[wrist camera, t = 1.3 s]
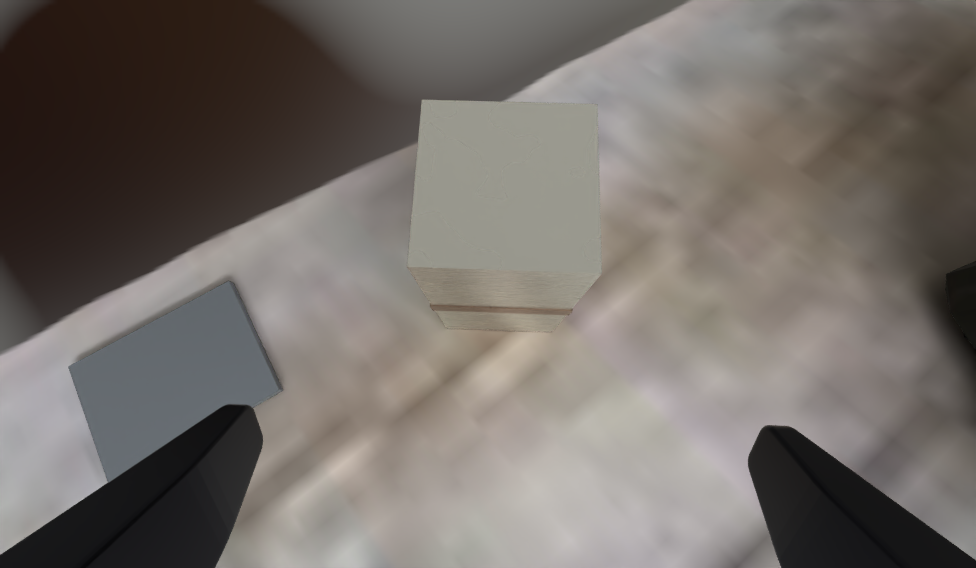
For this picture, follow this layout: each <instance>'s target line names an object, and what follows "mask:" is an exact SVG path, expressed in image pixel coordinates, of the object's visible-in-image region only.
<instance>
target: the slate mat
mask: <svg viewBox="0 0 976 568" xmlns="http://www.w3.org/2000/svg"><path fill="white" fill-rule="evenodd" d="M68 368H69V371H70V373H71V376H72V379H73V382H74V385H75V388H76V391H77V394H78V397H79V400H80V402H81V405H82V408H83V411H84V414H85V417H86V420H87V423H88V426H89V429H90V431H91V434H92V437H93V440H94V443H95V446H96V449H97V452H98V455H99V458H100V461H101V463H102V466H103V469H104V472H105V475H106V478H107V481H108V482H110V481H111V480H113V479H114V478H116V477H117V476H119V475H120V474H122V473H123V472H125V471H126V470H128V469H129V468H131V467H132V466H134V465H135V464H137V463H138V462H140V461H141V460H143V459H144V458H146V457H147V456H149V455H150V454H152V453H153V452H155V451H156V450H158V449H159V448H161V447H162V446H164V445H165V444H167V443H168V442H170V441H171V440H173V439H174V438H176V437H177V436H179V435H180V434H182V433H183V432H185V431H186V430H188V429H189V428H191V427H192V426H194V425H195V424H196V423H198V422H199V421H201V420H202V419H204V418H205V417H207V416H208V415H210V414H211V413H213V412H214V411H216V410H217V409H219V408H220V407H222V406H224V405H226V404H247V405H250V406H251V407H252V408H254V407H255V406H257V405H259V404H261V403H262V402H264V401H266V400H267V399H269V398H271V397H273V396H274V395H276V394H278V393H280V392H281V391H283V389H282V387H281V385H280V383H279V380H278V378H277V376H276V374H275V372H274V370H273V367H272V365H271V363H270V361H269V359H268V357H267V355H266V352H265V350H264V348H263V346H262V344H261V342H260V339H259V337H258V335H257V333H256V331H255V329H254V326H253V324H252V322H251V320H250V318H249V316H248V313H247V311H246V309H245V307H244V305H243V303H242V300H241V298H240V296H239V294H238V292H237V290H236V287H235V285H234V283H232V282H230V281H228V282H226V283H224V284H222V285H220V286H218V287H216V288H214V289H213V290H211V291H209V292H207V293H205V294H203V295H201V296H200V297H198V298H196V299H194V300H192V301H190V302H188V303H186V304H185V305H183V306H181V307H179V308H177V309H175V310H173V311H171V312H170V313H168V314H166V315H164V316H162V317H160V318H158V319H156V320H155V321H153V322H151V323H149V324H147V325H145V326H143V327H142V328H140V329H138V330H136V331H134V332H132V333H130V334H128V335H127V336H125V337H123V338H121V339H119V340H117V341H115V342H113V343H112V344H110V345H108V346H106V347H104V348H102V349H100V350H99V351H97V352H95V353H93V354H91V355H89V356H87V357H85V358H84V359H82V360H80V361H78V362H76V363H74V364H72V365H70V366H69V367H68Z"/></svg>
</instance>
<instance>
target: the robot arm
mask: <svg viewBox="0 0 976 568" xmlns="http://www.w3.org/2000/svg"><path fill="white" fill-rule="evenodd" d="M262 445H263V435H262V432H261V429H260V426H259V423H258V421H257V418H256V415H255V412H254V409H253V408H252V407H251V406H250V405H247V404H226V405H224V406H222V407H220V408H219V409H217V410H216V411H214V412H213V413H211V414H210V415H208V416H207V417H205V418H204V419H202V420H201V421H199V422H198V423H196V424H195V425H194V426H192V427H191V428H189V429H188V430H186V431H185V432H183V433H182V434H180V435H179V436H177V437H176V438H174V439H173V440H171V441H170V442H168V443H167V444H165V445H164V446H162V447H161V448H159V449H158V450H156V451H155V452H153V453H152V454H150V455H149V456H147V457H146V458H144V459H143V460H141V461H140V462H138V463H137V464H135V465H134V466H132V467H131V468H129V469H128V470H126V471H125V472H123V473H122V474H120V475H119V476H117V477H116V478H114V479H113V480H111V481H110V482H108V483H107V484H105V485H104V486H102V487H101V488H99V489H98V490H96V491H95V492H93V493H92V494H90V495H89V496H87V497H86V498H85V499H83V500H82V501H80V502H79V503H77V504H76V505H74V506H73V507H71V508H70V509H68V510H67V511H65V512H64V513H62V514H61V515H59V516H58V517H56V518H55V519H53V520H52V521H50V522H49V523H47V524H46V525H44V526H43V527H41V528H40V529H38V530H37V531H35V532H34V533H32V534H31V535H29V536H28V537H26V538H25V539H23V540H22V541H20V542H19V543H17V544H16V545H14V546H13V547H11V548H10V549H8V550H7V551H5V552H4V553H2V554H1V555H0V568H215V567H216V565H217V563H218V561H219V558H220V556H221V554H222V552H223V550H224V548H225V546H226V543H227V541H228V539H229V537H230V534H231V532H232V529H233V527H234V524H235V522H236V519H237V516H238V513H239V511H240V508H241V505H242V502H243V500H244V497H245V494H246V491H247V488H248V486H249V483H250V480H251V477H252V475H253V472H254V469H255V466H256V463H257V461H258V458H259V455H260V452H261V449H262ZM748 467H749V472H750V475H751V478H752V481H753V484H754V487H755V490H756V493H757V496H758V500H759V503H760V506H761V509H762V512H763V515H764V518H765V521H766V525H767V528H768V531H769V534H770V537H771V540H772V543H773V546H774V549H775V552H776V555H777V558H778V560H779V563H780V565H781V568H976V560H975V559H973V558H972V557H970V556H969V555H968V554H966V553H965V552H964V551H962V550H961V549H959V548H958V547H957V546H955V545H954V544H952V543H951V542H950V541H948V540H947V539H946V538H944V537H943V536H941V535H940V534H939V533H937V532H936V531H935V530H933V529H932V528H930V527H929V526H928V525H926V524H925V523H924V522H922V521H921V520H919V519H918V518H917V517H915V516H914V515H913V514H911V513H910V512H908V511H907V510H906V509H904V508H903V507H901V506H900V505H899V504H897V503H896V502H895V501H893V500H892V499H890V498H889V497H888V496H886V495H885V494H884V493H882V492H881V491H879V490H878V489H877V488H875V487H874V486H873V485H871V484H870V483H868V482H867V481H866V480H864V479H863V478H862V477H860V476H859V475H857V474H856V473H855V472H853V471H852V470H850V469H849V468H848V467H846V466H845V465H844V464H842V463H841V462H839V461H838V460H837V459H835V458H834V457H833V456H831V455H830V454H828V453H827V452H826V451H824V450H823V449H822V448H820V447H819V446H817V445H816V444H815V443H813V442H812V441H811V440H809V439H808V438H806V437H805V436H804V435H802V434H801V433H799V432H798V431H797V430H795V429H794V428H792V427H789V426H776V425H767V426H765V427H763V428H762V429H761V431H760V433H759V435H758V437H757V439H756V441H755V443H754V445H753V447H752V450H751V452H750V454H749V457H748Z"/></svg>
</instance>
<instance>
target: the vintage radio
mask: <svg viewBox="0 0 976 568" xmlns="http://www.w3.org/2000/svg"><path fill="white" fill-rule="evenodd" d="M945 290H946V294H947V299H948V303H949V308H950V312H951V314H952V316H953V317H954V319H955V320H956V322H957V323H958V325H959V326H960V328H961V329H962V331H963V334H964V337H965V338H966V339H967V340H968V341H970V342H971V344H972V345H973V347H974V348H975V349H976V261H975V262H973V263H970V264H968V265H966V266H963V267H961V268H959V269H956V270H954V271H952V272H949V273H947V274H946V289H945Z"/></svg>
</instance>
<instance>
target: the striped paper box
mask: <svg viewBox="0 0 976 568" xmlns="http://www.w3.org/2000/svg"><path fill="white" fill-rule="evenodd" d="M407 268H408V269H409V271H410V272H411V274H412V275H413V277H414V278H415V280H416V281H417V283H418V285H419V286H420V288H421V289H422V291H423V292H424V294H425V295H426V297H427V299H428V300H429V302H430V307H431V308H432V310H433V311H436V312H437V314H438V316H439V317H440V319H441V320H442V322H443V323H444V325H445V326H446V328H447V329H474V330H502V331H529V332H553V331H554V329H555V328H556V327H557V326H558V325H559V323H560V322H561V321H562V320H563V319H564V317H565V316H566V315H570V313H571V312H572V308H573V307H574V306H575V304H576V303H577V302H578V301H579V300H580V299H581V297H582V296H583V295H584V294H585V293H586V291H587V290H588V289H589V288H590V287H591V286H592V284H593V283H594V282H595V281H596V280H597V278H598V277H599V276H600V275H601V274H602V263H601V226H600V188H599V151H598V113H597V104H570V103H531V102H492V101H452V100H422V104H421V115H420V127H419V138H418V149H417V160H416V171H415V182H414V194H413V205H412V216H411V227H410V239H409V250H408V261H407Z"/></svg>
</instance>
